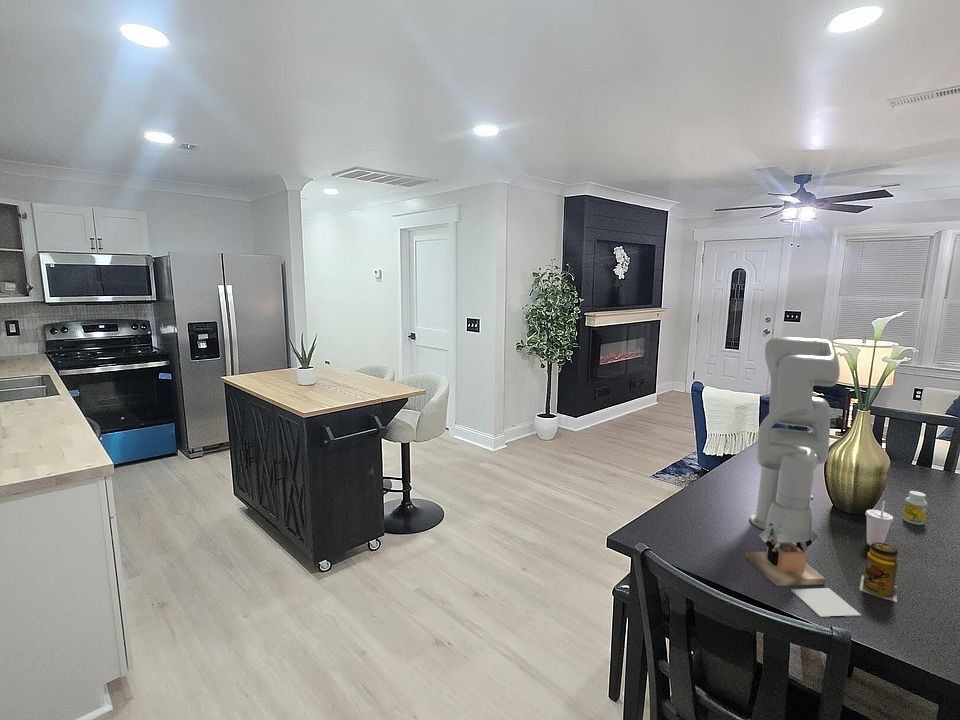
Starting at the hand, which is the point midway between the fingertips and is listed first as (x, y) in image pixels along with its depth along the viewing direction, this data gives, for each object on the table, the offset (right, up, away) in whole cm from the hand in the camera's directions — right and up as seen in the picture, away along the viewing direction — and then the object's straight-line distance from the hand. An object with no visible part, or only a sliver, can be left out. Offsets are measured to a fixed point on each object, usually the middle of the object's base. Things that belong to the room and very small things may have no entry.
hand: (784, 561), depth 134 cm
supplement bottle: (+59, +2, +28) cm, 66 cm away
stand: (0, -2, 0) cm, 2 cm away
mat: (+2, -5, -13) cm, 14 cm away
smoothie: (+35, -1, +14) cm, 38 cm away
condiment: (+20, -4, -7) cm, 21 cm away
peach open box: (0, -1, 0) cm, 1 cm away
